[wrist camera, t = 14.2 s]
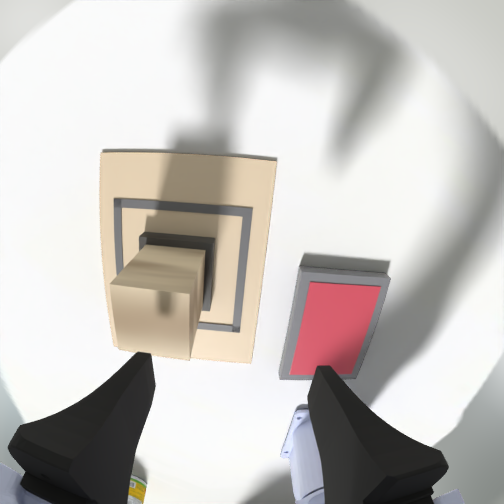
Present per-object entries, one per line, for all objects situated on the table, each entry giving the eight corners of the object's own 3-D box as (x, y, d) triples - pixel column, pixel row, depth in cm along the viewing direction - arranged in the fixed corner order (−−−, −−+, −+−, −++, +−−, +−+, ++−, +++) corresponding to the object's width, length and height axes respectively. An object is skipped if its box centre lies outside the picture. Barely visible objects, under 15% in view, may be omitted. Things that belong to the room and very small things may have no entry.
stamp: (211, 303, 21) (199, 368, 15) (146, 295, 21) (111, 354, 14) (215, 237, 20) (200, 285, 13) (144, 231, 20) (99, 273, 13)
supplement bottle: (130, 486, 34) (119, 531, 25) (108, 471, 32) (94, 518, 23) (153, 486, 33) (144, 534, 24) (131, 471, 32) (118, 522, 22)
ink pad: (352, 371, 25) (355, 379, 24) (278, 371, 24) (279, 380, 23) (385, 273, 21) (391, 278, 20) (299, 266, 21) (301, 272, 20)
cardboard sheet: (250, 362, 24) (251, 364, 23) (114, 345, 23) (113, 347, 23) (276, 161, 18) (277, 161, 18) (101, 152, 18) (100, 152, 17)
